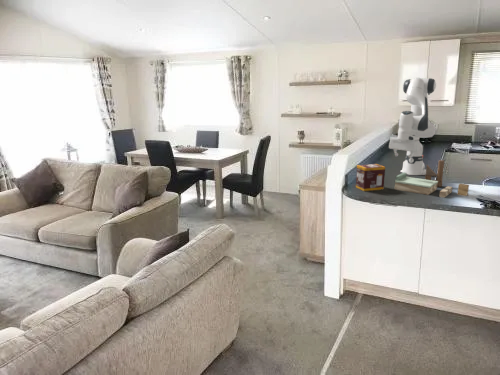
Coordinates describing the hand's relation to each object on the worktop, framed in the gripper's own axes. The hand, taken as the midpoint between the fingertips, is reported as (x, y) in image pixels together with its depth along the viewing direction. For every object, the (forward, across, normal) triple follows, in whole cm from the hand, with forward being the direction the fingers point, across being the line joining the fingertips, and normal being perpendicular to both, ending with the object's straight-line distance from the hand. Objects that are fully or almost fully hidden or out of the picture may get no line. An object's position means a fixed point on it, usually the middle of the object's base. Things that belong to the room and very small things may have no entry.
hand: (403, 156), depth 262 cm
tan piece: (+21, +15, +1) cm, 26 cm away
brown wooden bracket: (+21, +14, +18) cm, 31 cm away
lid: (+16, +10, 0) cm, 19 cm away
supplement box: (+21, -12, -19) cm, 31 cm away
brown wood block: (+21, +36, +10) cm, 43 cm away
